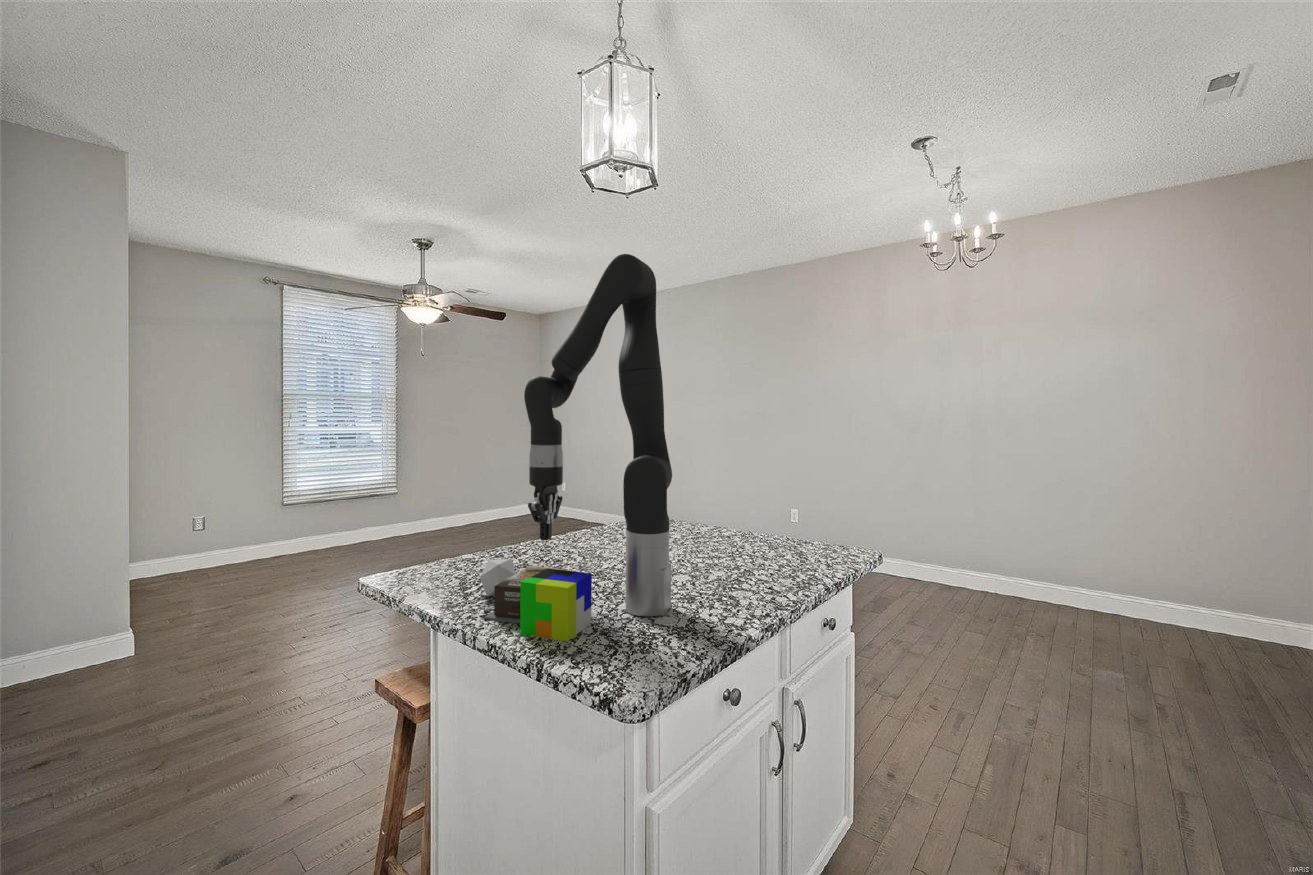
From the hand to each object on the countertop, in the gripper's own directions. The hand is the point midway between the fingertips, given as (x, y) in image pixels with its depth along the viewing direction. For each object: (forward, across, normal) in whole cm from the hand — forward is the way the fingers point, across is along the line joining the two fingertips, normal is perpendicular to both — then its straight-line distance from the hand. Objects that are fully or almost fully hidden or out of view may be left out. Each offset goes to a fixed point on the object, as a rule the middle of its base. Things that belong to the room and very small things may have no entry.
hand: (545, 539), depth 124 cm
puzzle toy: (+13, -17, -11) cm, 24 cm away
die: (+13, -2, +11) cm, 17 cm away
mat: (+13, -9, 0) cm, 16 cm away
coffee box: (+9, 0, 0) cm, 9 cm away
